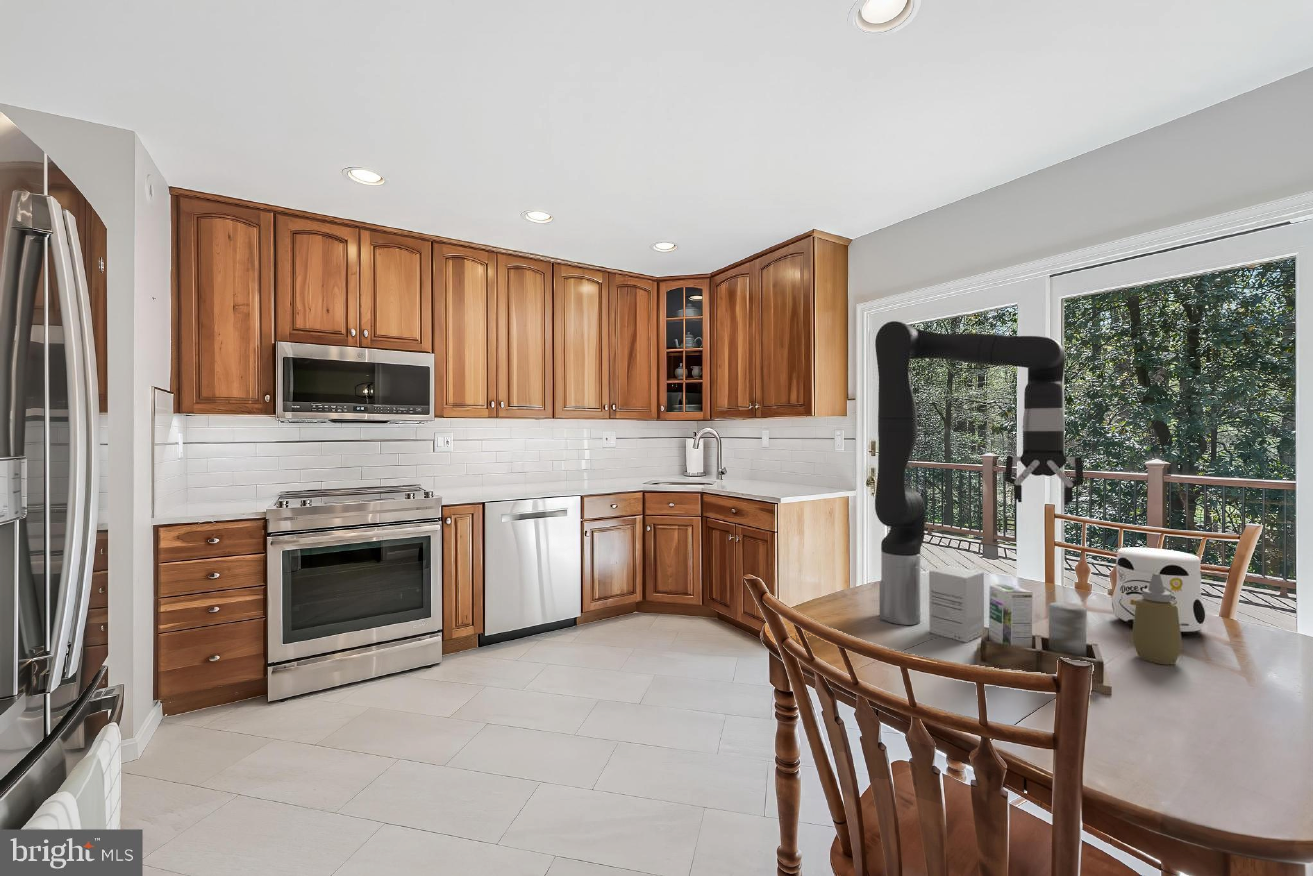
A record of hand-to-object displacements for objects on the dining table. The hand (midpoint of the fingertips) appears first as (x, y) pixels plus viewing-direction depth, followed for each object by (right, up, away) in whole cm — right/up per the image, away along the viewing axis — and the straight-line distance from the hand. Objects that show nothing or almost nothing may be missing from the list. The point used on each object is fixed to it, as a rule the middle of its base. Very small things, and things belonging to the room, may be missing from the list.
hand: (1042, 503), depth 128 cm
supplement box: (-14, -32, +10) cm, 37 cm away
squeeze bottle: (+20, -32, -6) cm, 38 cm away
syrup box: (-12, -31, -8) cm, 34 cm away
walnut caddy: (-8, -32, -11) cm, 35 cm away
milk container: (+37, -32, +14) cm, 51 cm away
